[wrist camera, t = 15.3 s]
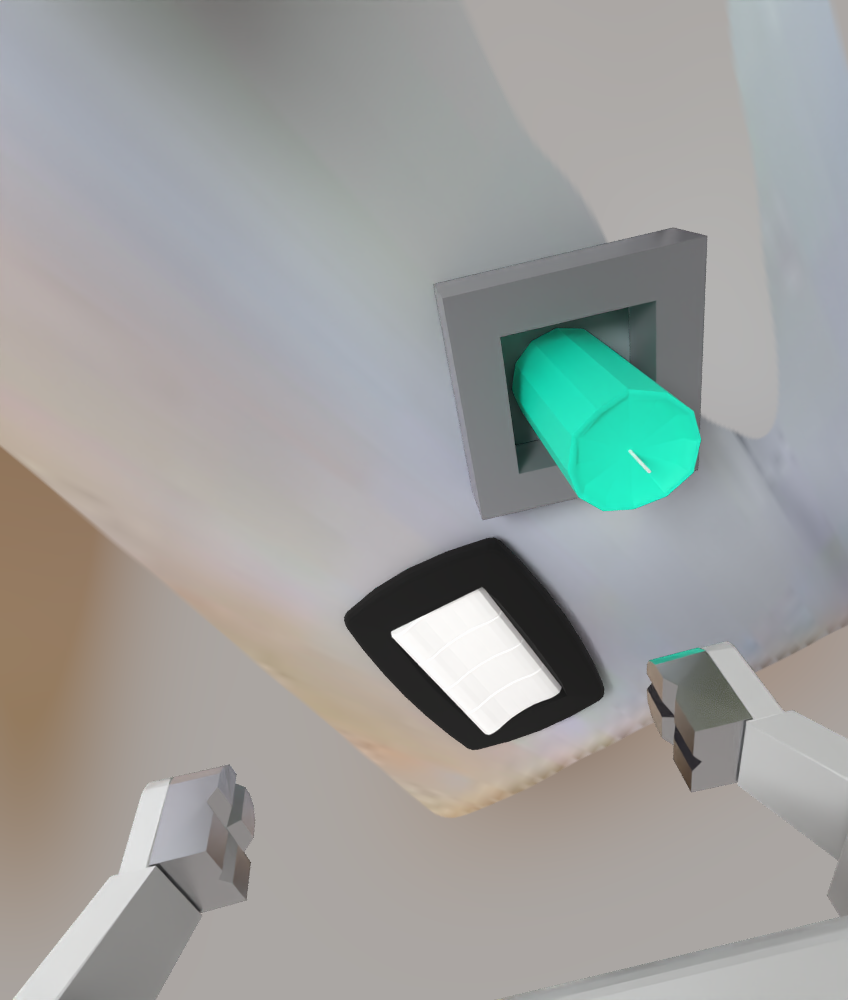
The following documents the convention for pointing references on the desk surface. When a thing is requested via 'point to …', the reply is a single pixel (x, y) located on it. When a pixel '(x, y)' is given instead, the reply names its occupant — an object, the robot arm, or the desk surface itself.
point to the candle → (604, 420)
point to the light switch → (477, 645)
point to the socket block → (555, 299)
